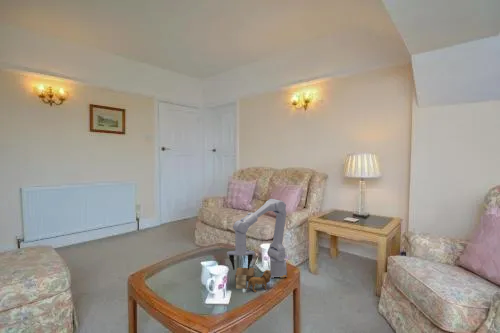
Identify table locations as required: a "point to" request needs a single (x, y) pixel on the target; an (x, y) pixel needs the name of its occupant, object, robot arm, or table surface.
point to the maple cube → (241, 282)
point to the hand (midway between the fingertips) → (241, 268)
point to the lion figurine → (260, 280)
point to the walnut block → (245, 273)
